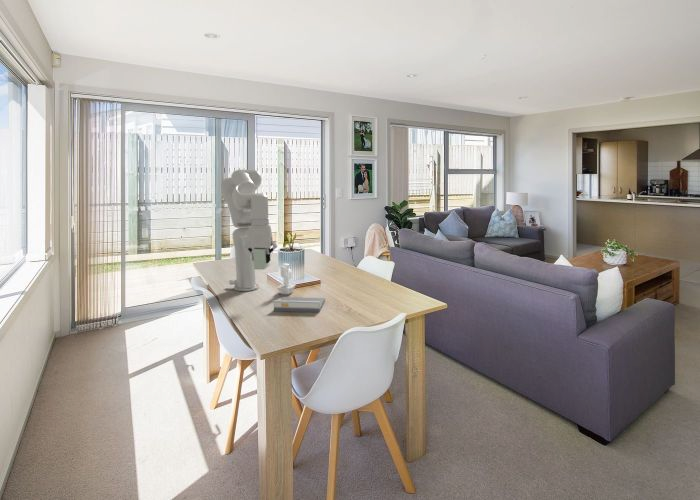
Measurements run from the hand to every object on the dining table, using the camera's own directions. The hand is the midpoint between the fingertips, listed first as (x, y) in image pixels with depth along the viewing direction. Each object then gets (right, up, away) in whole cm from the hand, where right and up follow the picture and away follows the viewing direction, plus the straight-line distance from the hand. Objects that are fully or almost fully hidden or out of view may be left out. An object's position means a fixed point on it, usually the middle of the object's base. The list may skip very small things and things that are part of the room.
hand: (261, 262), depth 188 cm
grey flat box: (+18, -20, -1) cm, 27 cm away
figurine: (+9, -16, +19) cm, 27 cm away
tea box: (0, -2, 0) cm, 3 cm away
